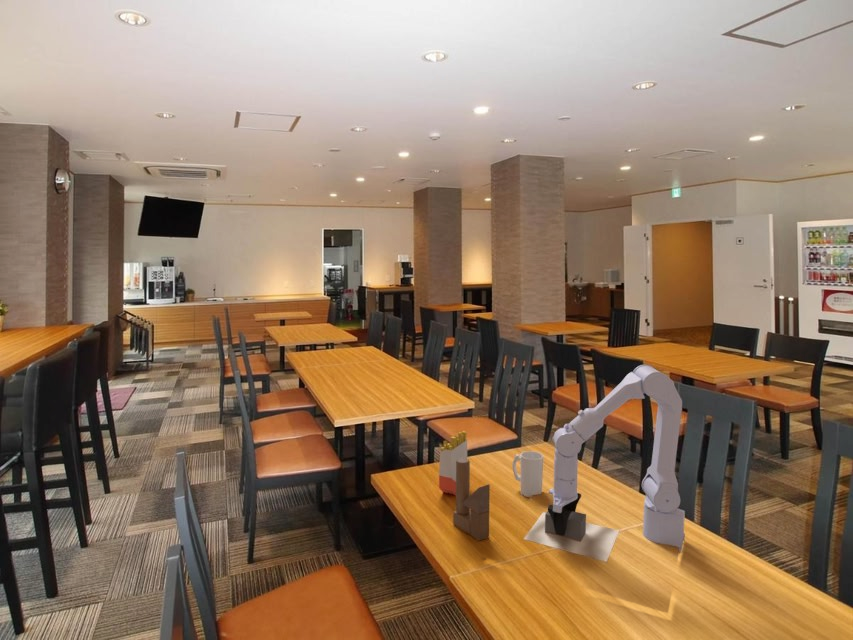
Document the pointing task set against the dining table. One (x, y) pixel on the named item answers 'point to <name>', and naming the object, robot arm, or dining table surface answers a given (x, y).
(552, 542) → the board
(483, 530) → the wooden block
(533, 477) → the mug
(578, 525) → the block
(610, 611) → the dining table surface
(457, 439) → the french fries container
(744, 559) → the dining table surface
